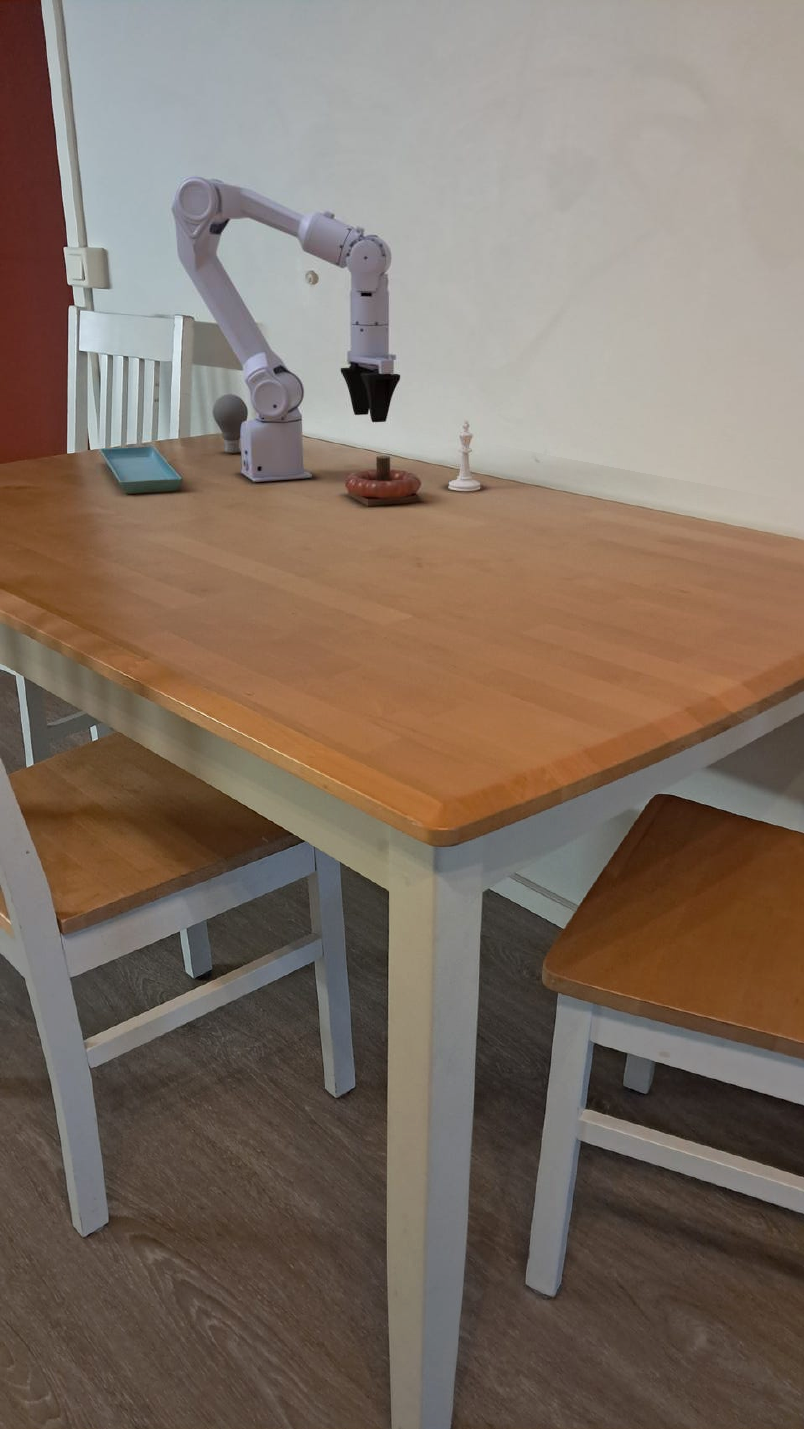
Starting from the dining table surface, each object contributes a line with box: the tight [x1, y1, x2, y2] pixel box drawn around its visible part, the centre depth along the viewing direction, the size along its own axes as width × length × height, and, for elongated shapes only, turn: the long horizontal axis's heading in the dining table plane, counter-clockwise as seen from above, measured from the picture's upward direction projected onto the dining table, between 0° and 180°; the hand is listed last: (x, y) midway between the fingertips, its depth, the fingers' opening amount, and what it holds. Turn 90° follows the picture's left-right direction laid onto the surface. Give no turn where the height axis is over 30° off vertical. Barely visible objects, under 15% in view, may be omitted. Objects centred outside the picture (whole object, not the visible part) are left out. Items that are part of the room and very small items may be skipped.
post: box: [347, 455, 420, 507], centre depth 154 cm, size 8×8×6 cm
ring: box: [344, 468, 422, 498], centre depth 154 cm, size 11×11×2 cm
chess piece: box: [447, 419, 482, 492], centre depth 160 cm, size 5×5×10 cm
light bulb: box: [212, 393, 249, 455], centre depth 185 cm, size 6×6×10 cm
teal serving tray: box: [99, 445, 183, 495], centre depth 167 cm, size 26×9×2 cm, turn 21°
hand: (369, 418), depth 164 cm, fingers open, 7 cm apart
